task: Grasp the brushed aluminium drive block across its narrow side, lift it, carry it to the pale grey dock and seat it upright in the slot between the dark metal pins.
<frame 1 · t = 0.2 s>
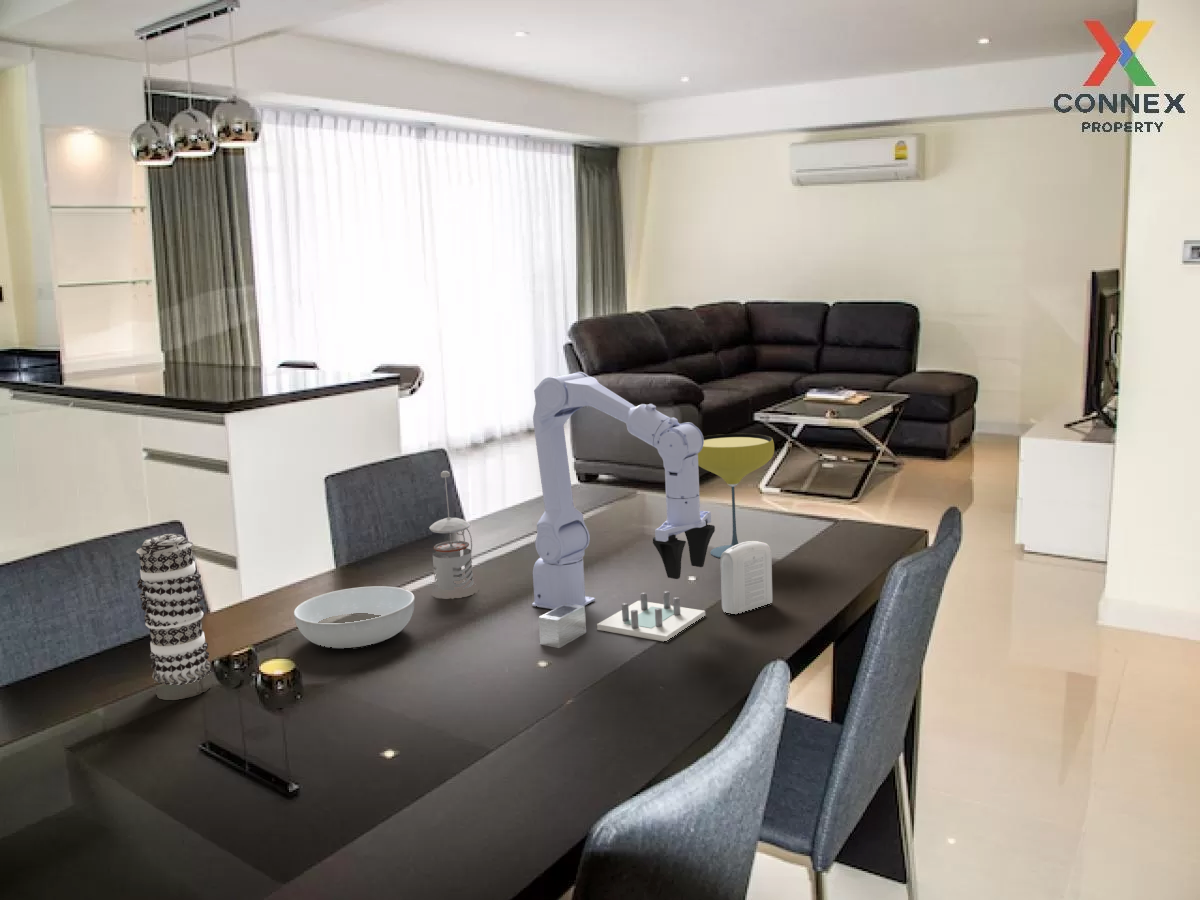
hand: (685, 571, 170), 10 cm above the table, tool pointing down, fingers open, 7 cm apart
french press: (457, 591, 200), on the table
dock: (651, 622, 174), on the table
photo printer: (747, 609, 179), on the table
serving bowl: (358, 640, 175), on the table
cocktail glass: (735, 553, 215), on the table
drive: (563, 639, 169), on the table
decorative candle: (184, 691, 156), on the table
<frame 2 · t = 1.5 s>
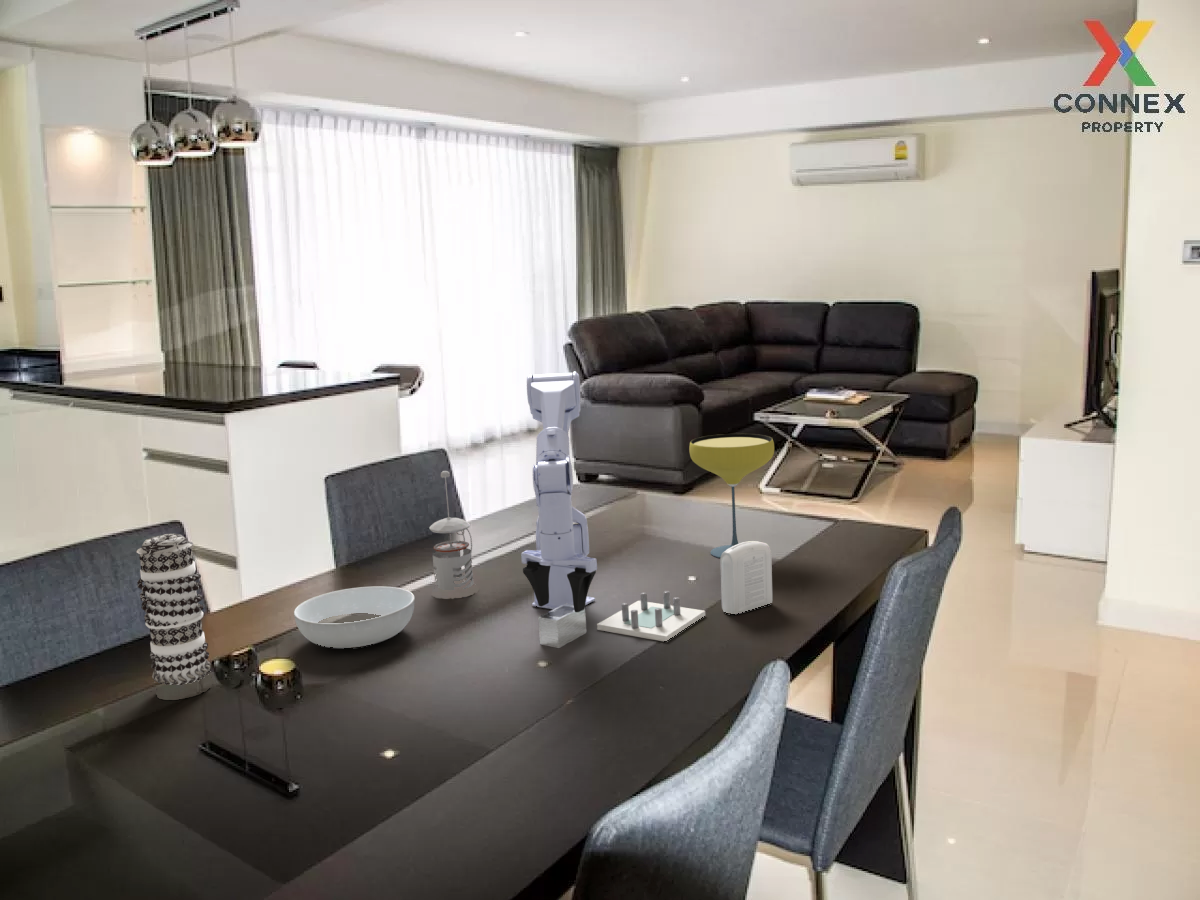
hand: (561, 607, 168), 6 cm above the table, tool pointing down, fingers open, 7 cm apart
nothing on the table moved.
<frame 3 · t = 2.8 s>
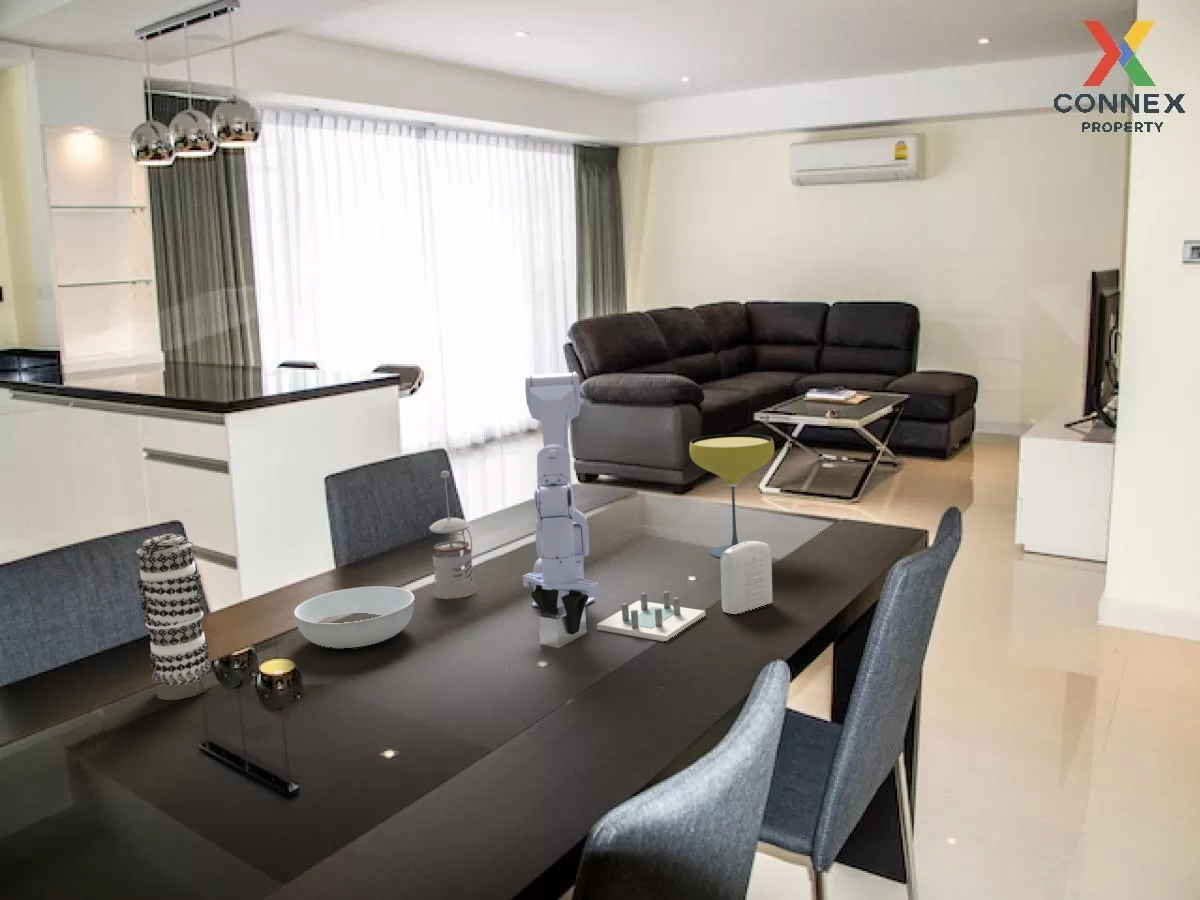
hand: (563, 630, 169), 1 cm above the table, tool pointing down, fingers closed on drive, 4 cm apart
drive: (563, 638, 169), on the table, touching gripper
everything else where it was.
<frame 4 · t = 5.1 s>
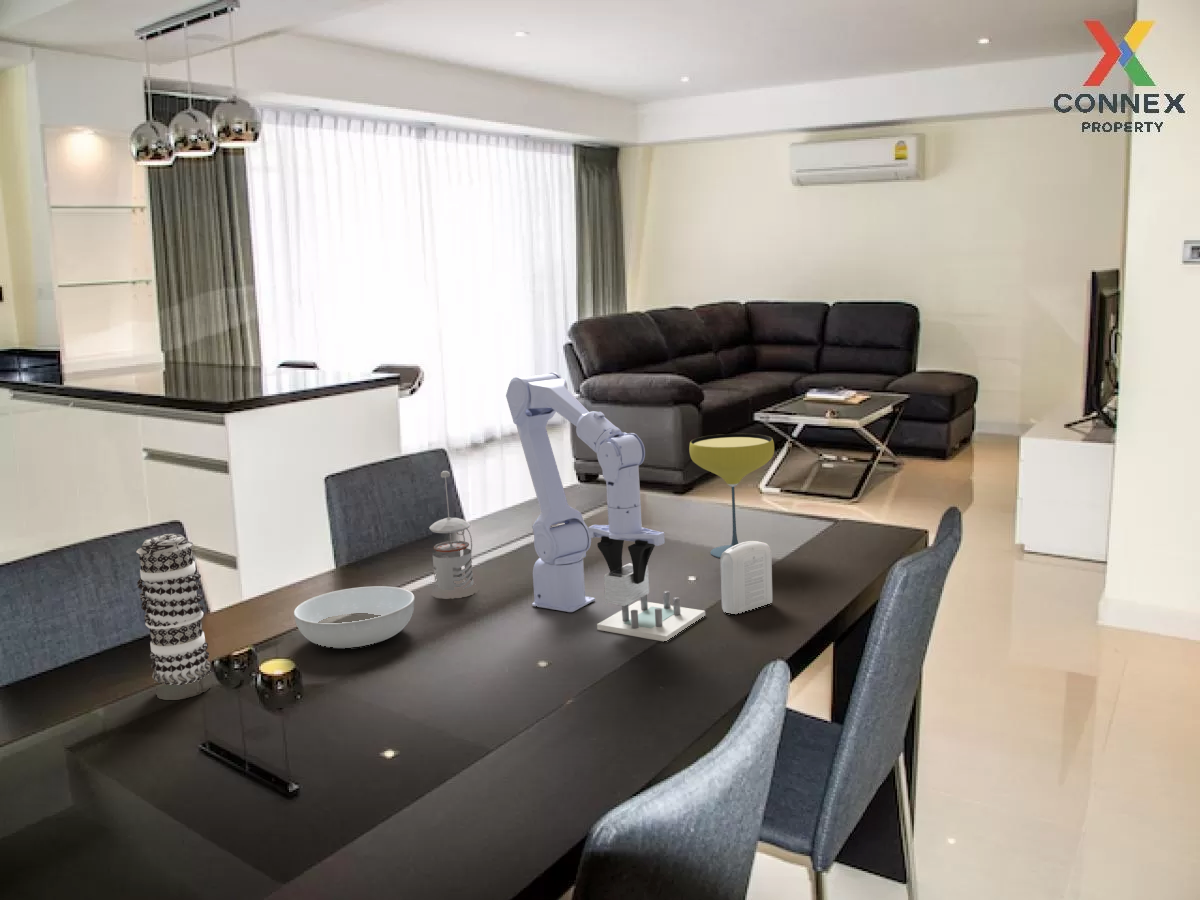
hand: (628, 580, 171), 8 cm above the table, tool pointing down, fingers closed on drive, 4 cm apart
drive: (627, 597, 172), point 5 cm above the table, touching gripper
everything else where it was.
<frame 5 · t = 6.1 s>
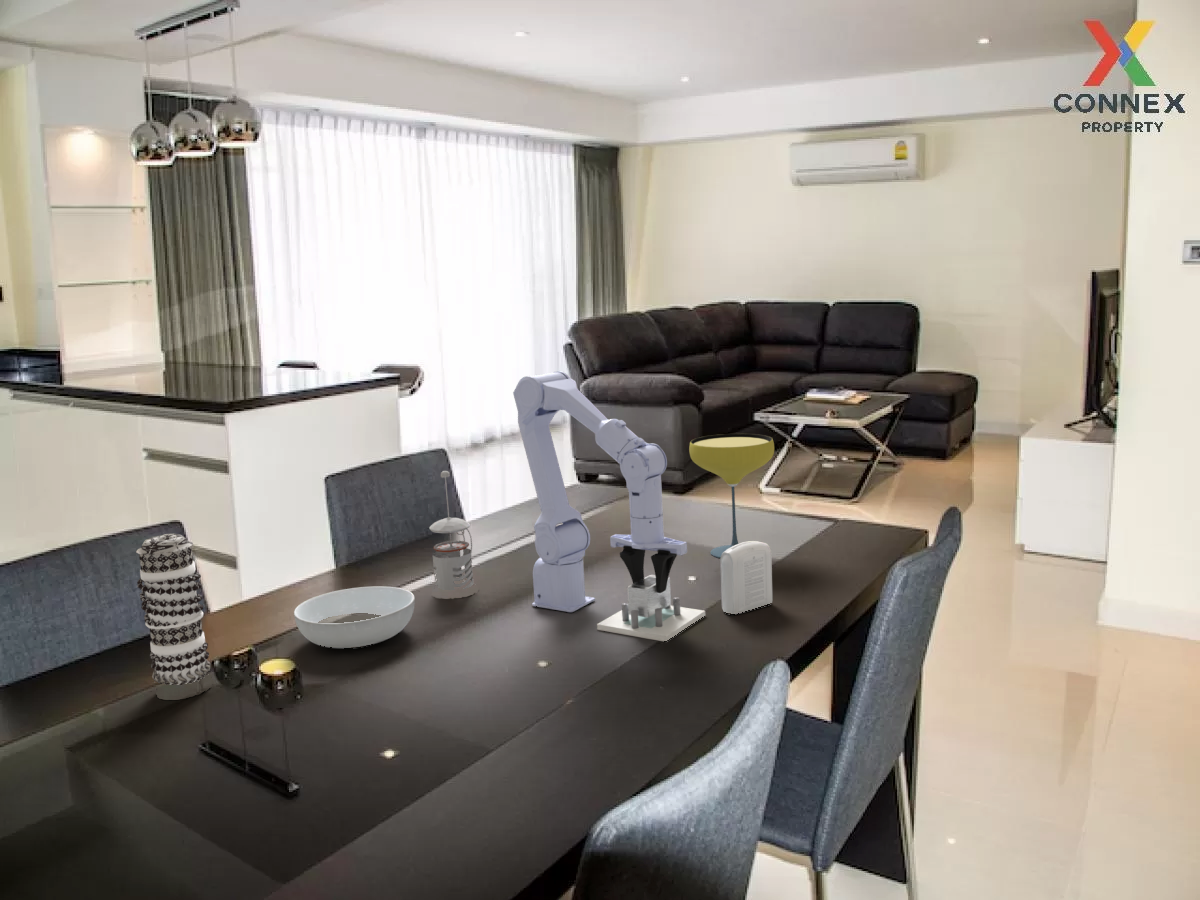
hand: (650, 589, 173), 6 cm above the table, tool pointing down, fingers closed on drive, 4 cm apart
drive: (649, 609, 173), point 3 cm above the table, touching gripper
everything else where it was.
when the fingers open (4 cm above the table, at t = 7.4 s): drive stays where it is, resting on dock.
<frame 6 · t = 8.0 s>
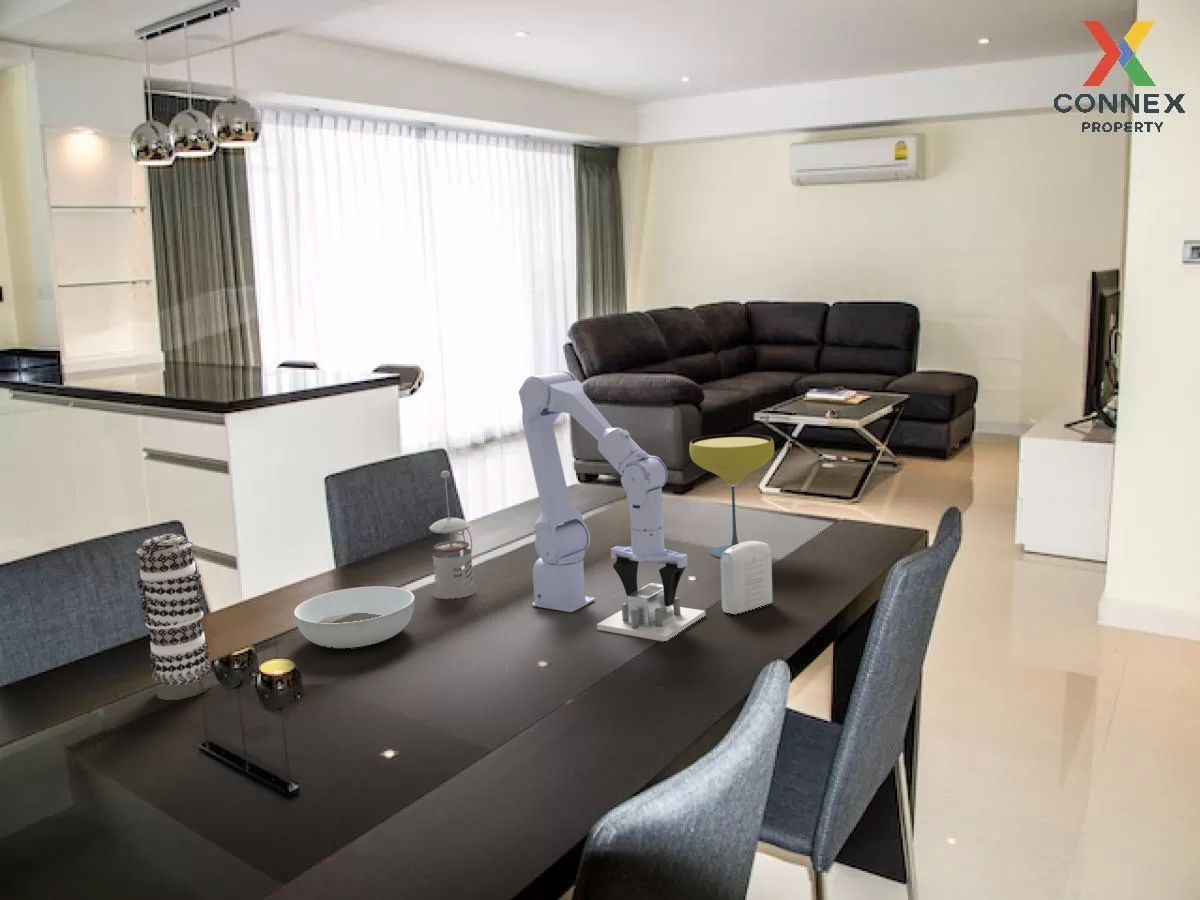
hand: (650, 601, 174), 4 cm above the table, tool pointing down, fingers open, 7 cm apart
drive: (650, 617, 174), point 1 cm above the table, touching dock
everything else where it was.
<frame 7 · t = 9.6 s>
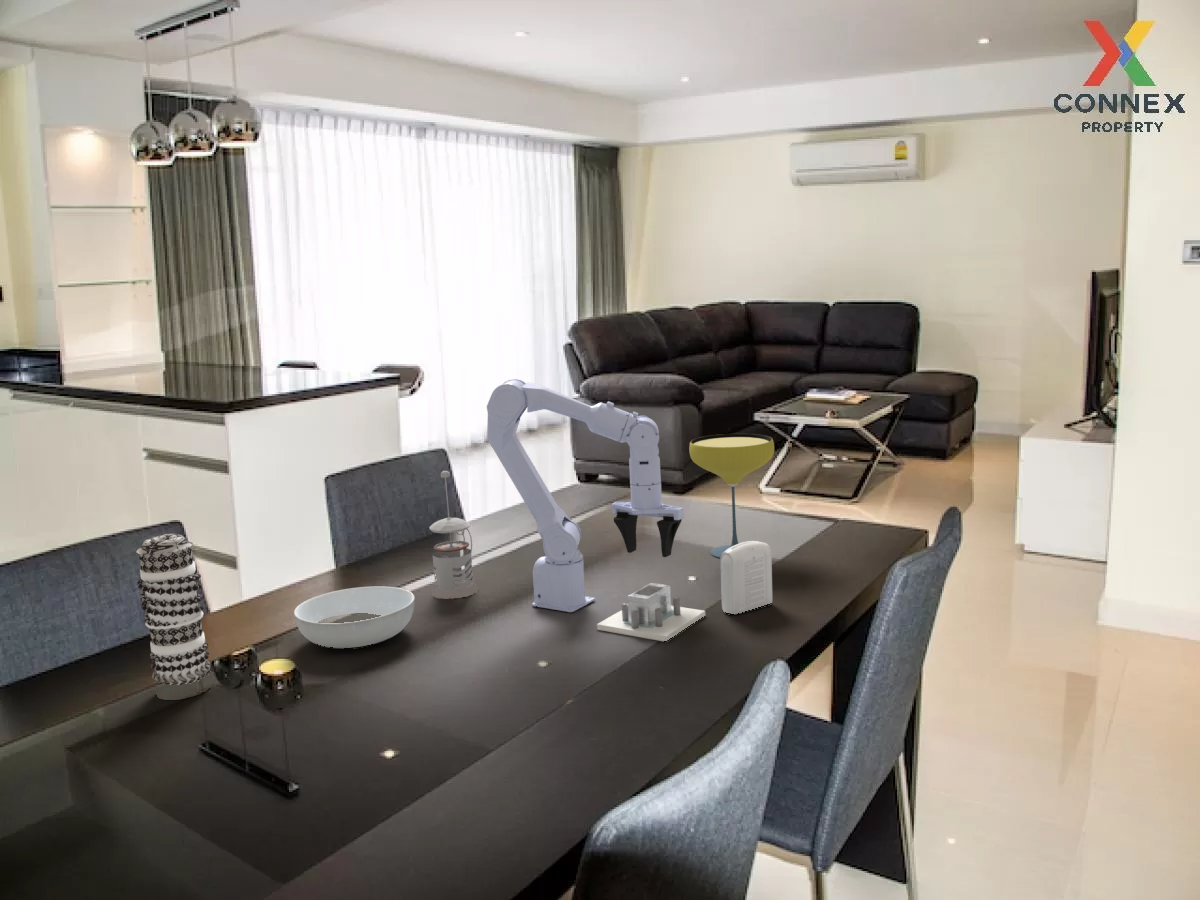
hand: (649, 553, 184), 9 cm above the table, tool pointing down, fingers open, 7 cm apart
nothing on the table moved.
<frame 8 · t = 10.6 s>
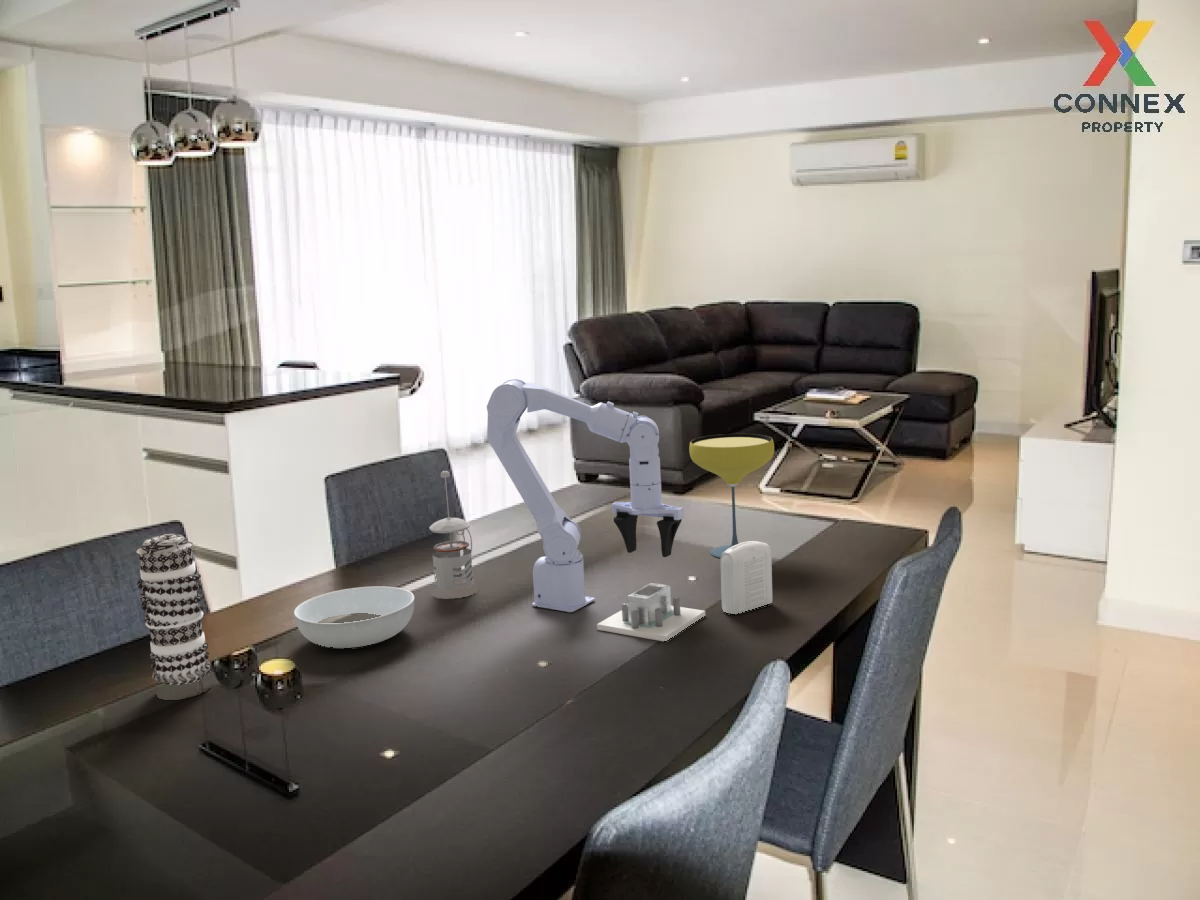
hand: (649, 553, 184), 9 cm above the table, tool pointing down, fingers open, 7 cm apart
nothing on the table moved.
at the end: drive 0.5 cm off-centre on the dock, point 1.1 cm above the dock's base; drive tilted 0°; the gripper is holding nothing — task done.
